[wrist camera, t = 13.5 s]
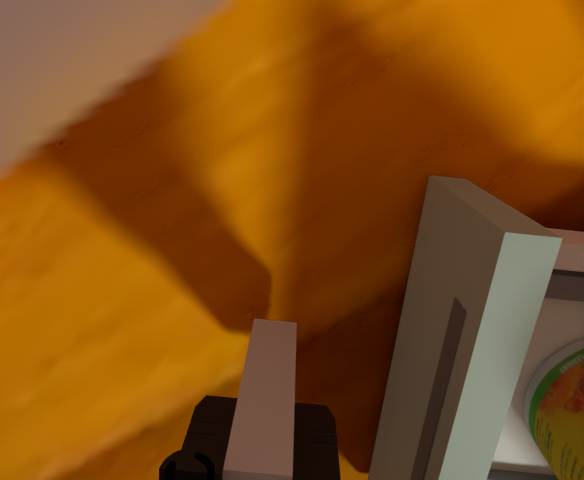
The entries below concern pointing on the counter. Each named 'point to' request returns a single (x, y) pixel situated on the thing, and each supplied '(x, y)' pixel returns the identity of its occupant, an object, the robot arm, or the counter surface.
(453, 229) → the tray
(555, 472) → the supplement bottle
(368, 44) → the counter surface
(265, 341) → the robot arm
